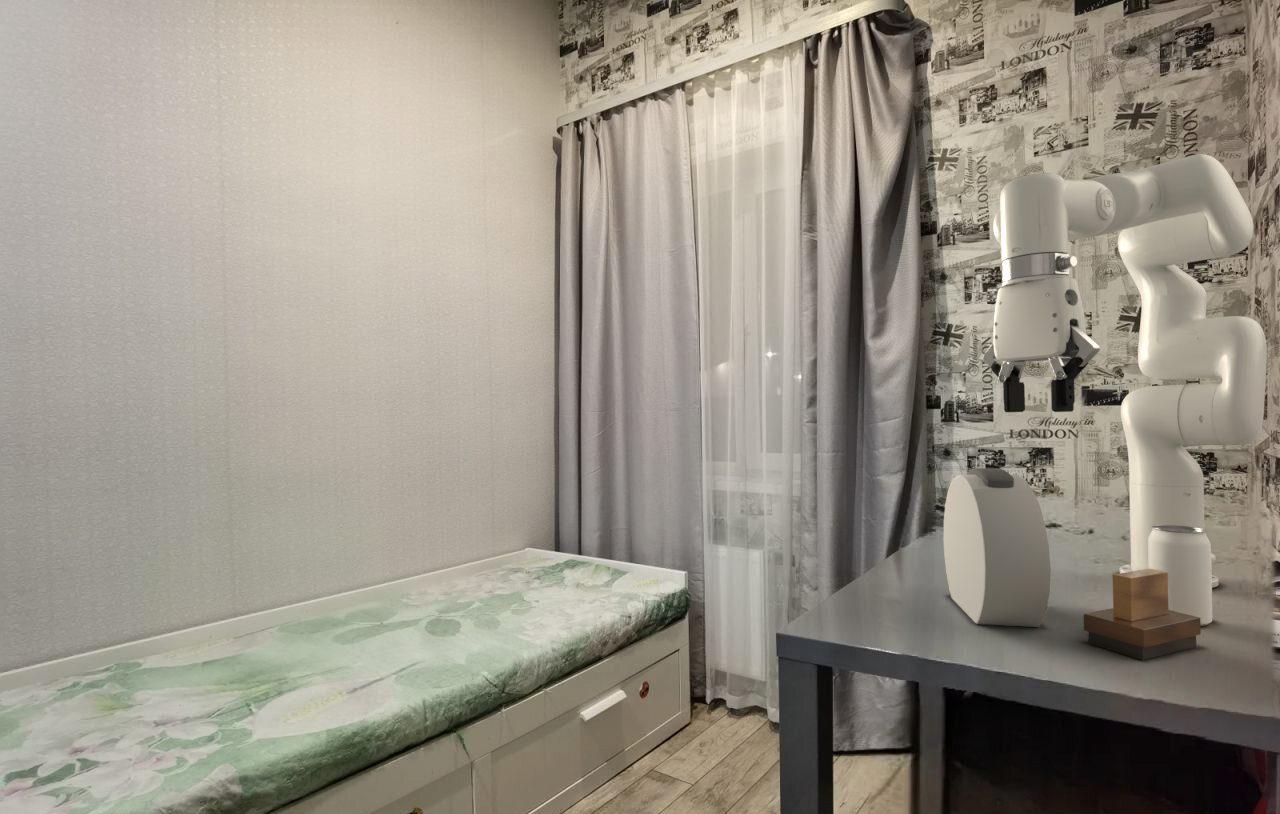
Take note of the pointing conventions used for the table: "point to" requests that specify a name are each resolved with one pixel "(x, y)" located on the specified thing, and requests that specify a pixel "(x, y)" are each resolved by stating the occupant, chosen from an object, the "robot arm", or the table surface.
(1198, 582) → the can
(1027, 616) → the alarm clock
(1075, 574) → the table surface
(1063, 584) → the table surface
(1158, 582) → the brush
